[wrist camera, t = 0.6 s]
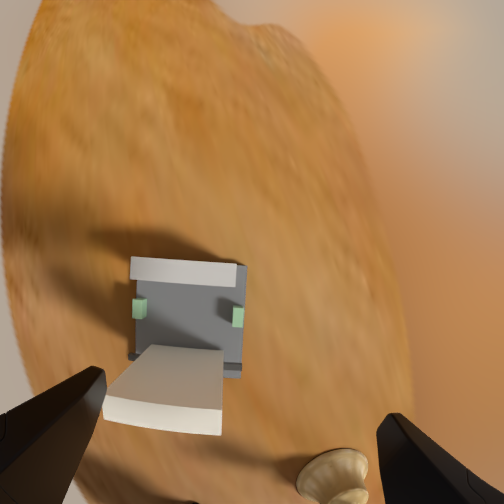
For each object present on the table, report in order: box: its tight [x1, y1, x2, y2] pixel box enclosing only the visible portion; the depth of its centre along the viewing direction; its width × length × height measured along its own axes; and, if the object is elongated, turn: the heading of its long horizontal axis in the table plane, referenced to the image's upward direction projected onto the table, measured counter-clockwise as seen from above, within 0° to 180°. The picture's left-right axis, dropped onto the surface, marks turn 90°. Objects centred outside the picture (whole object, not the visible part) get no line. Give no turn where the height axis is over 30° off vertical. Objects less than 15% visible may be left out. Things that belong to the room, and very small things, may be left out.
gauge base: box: [130, 256, 247, 378], centre depth 22 cm, size 10×9×6 cm
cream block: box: [102, 344, 242, 435], centre depth 18 cm, size 2×9×11 cm, turn 86°
